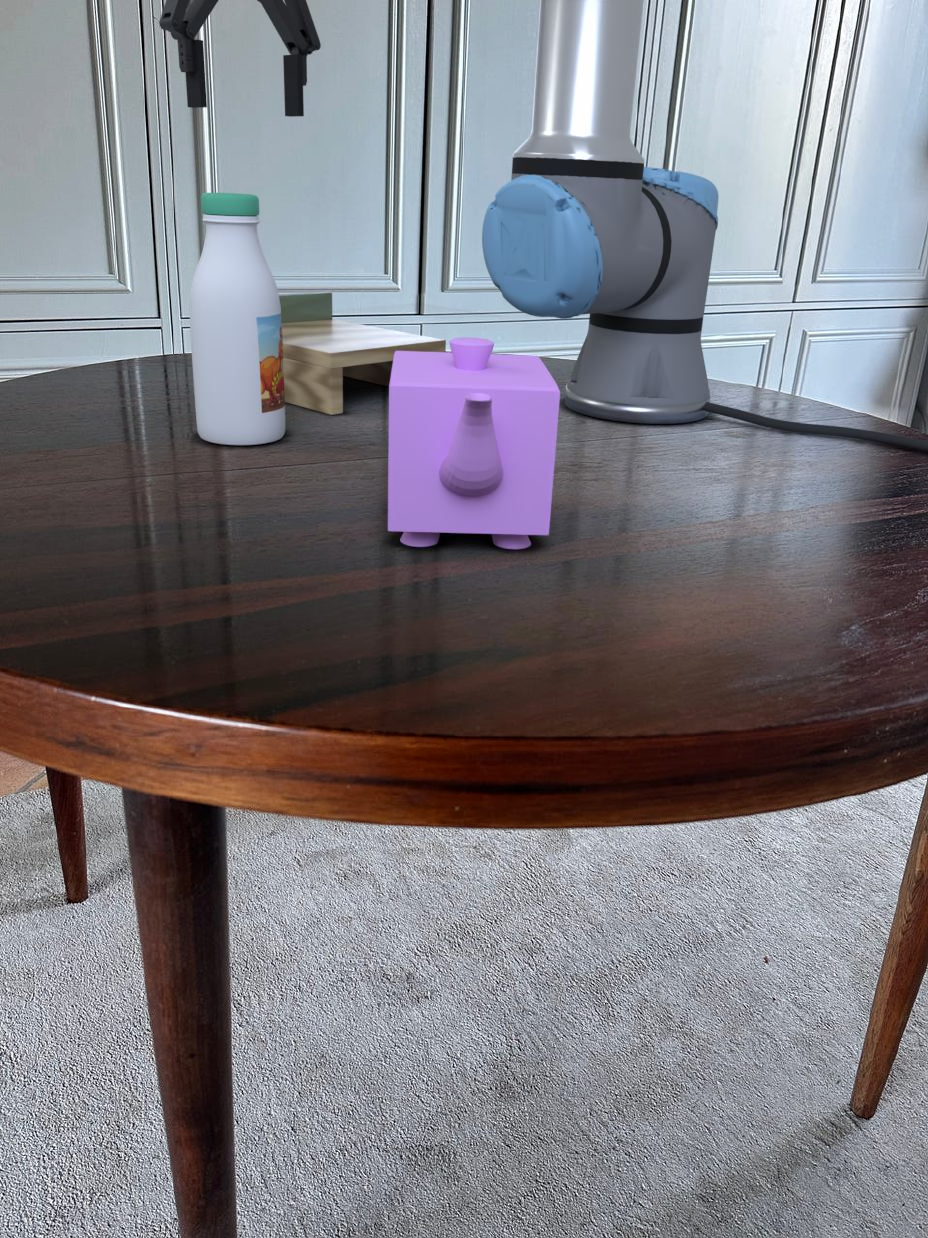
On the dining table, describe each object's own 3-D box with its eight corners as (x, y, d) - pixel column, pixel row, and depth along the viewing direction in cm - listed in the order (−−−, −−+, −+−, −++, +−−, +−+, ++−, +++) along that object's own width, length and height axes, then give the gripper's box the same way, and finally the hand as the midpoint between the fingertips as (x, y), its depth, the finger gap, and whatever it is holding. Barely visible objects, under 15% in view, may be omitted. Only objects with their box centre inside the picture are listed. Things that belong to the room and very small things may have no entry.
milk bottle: (237, 452, 83) (224, 194, 75) (179, 436, 88) (160, 190, 79) (304, 437, 89) (298, 195, 81) (246, 422, 93) (234, 191, 85)
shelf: (444, 396, 109) (447, 310, 105) (331, 415, 98) (330, 320, 94) (326, 368, 121) (325, 291, 117) (215, 382, 110) (210, 298, 106)
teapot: (393, 488, 75) (395, 318, 70) (525, 492, 76) (536, 323, 71) (384, 588, 57) (386, 368, 52) (558, 592, 58) (576, 374, 53)
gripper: (307, -80, 118) (311, 119, 126) (114, -131, 101) (133, 103, 110) (348, -89, 113) (350, 119, 122) (153, -143, 96) (170, 102, 105)
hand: (247, 112), depth 116 cm, fingers open, 13 cm apart
